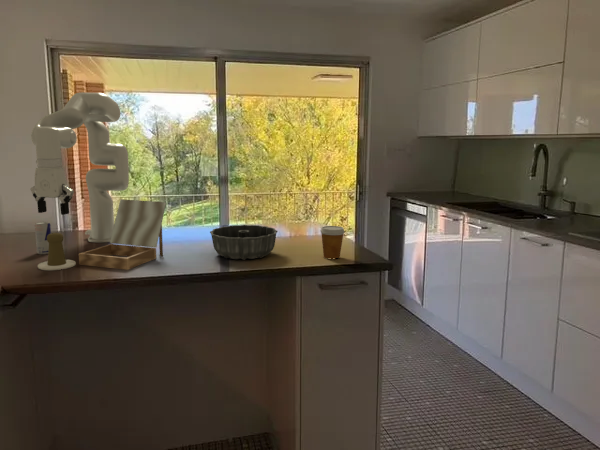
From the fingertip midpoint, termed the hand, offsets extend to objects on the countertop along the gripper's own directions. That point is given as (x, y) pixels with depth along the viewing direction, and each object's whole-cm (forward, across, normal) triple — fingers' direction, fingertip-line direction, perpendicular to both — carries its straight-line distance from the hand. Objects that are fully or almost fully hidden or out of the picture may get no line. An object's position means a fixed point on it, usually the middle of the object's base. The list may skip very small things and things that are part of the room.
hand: (53, 213), depth 168 cm
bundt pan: (+20, +55, +38) cm, 70 cm away
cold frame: (+19, +16, +16) cm, 30 cm away
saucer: (+19, 0, -1) cm, 19 cm away
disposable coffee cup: (+19, +89, +46) cm, 102 cm away
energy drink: (+19, -19, +13) cm, 30 cm away
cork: (+18, 0, -1) cm, 18 cm away
